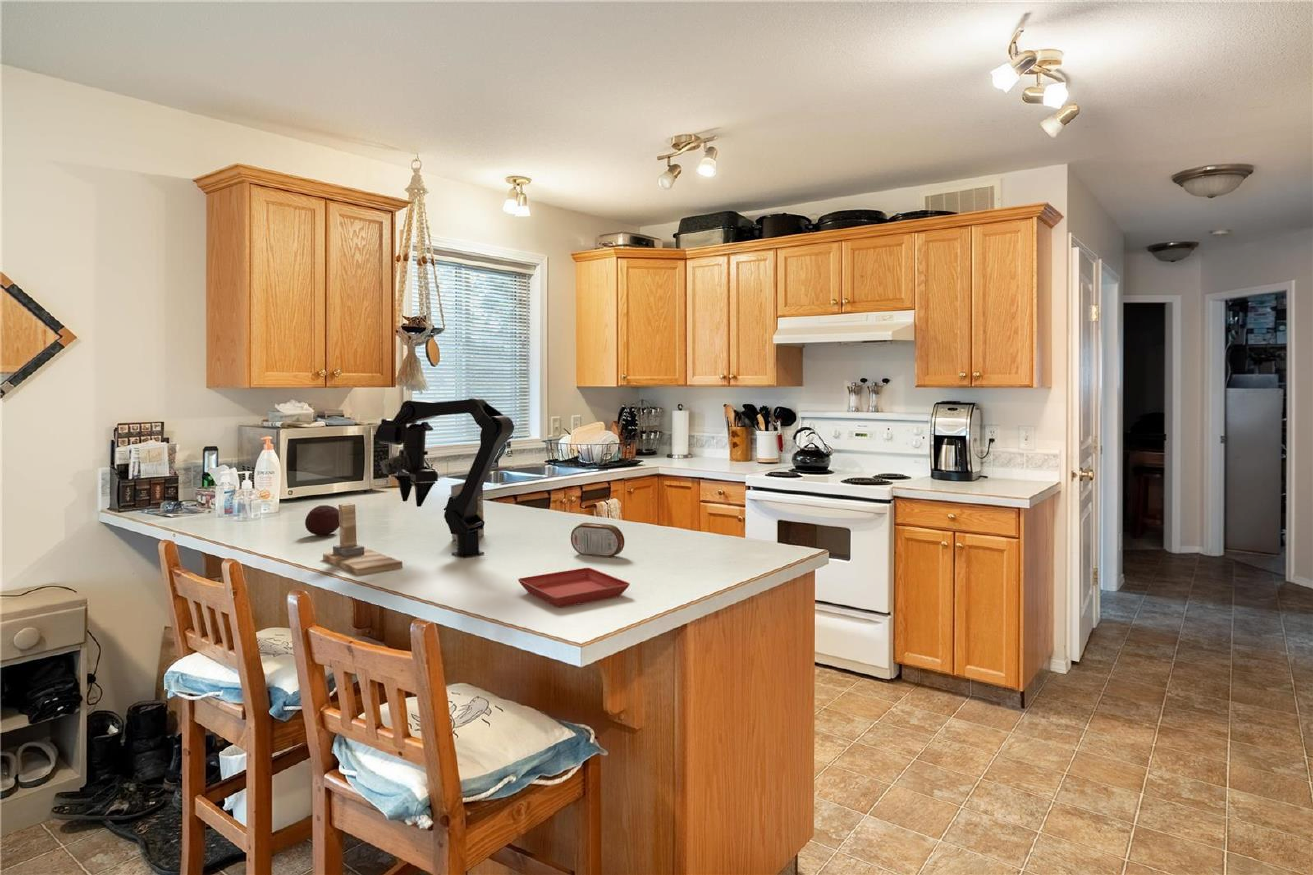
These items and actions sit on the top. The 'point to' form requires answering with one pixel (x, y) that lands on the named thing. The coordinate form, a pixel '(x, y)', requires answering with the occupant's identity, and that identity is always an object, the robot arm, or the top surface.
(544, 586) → the plant saucer
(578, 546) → the tin
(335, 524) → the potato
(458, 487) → the coffee box
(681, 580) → the top surface
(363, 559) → the board
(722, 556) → the top surface
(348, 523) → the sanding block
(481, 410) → the robot arm
